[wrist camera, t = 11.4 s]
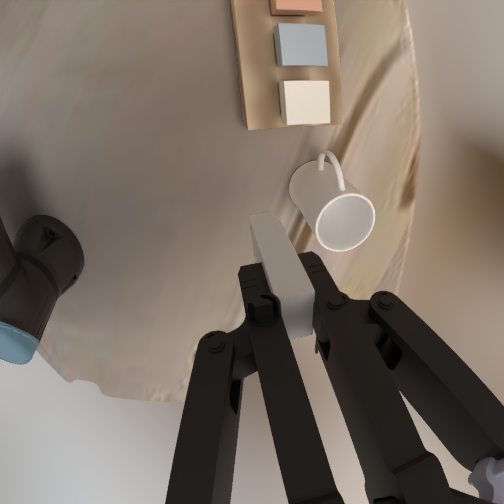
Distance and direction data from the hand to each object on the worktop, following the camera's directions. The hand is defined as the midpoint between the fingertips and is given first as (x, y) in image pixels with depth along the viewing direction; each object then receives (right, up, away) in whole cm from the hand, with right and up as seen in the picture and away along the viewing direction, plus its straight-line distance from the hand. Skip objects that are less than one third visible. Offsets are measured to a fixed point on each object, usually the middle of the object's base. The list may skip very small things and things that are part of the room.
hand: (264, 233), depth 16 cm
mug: (+9, +11, +25) cm, 28 cm away
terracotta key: (+3, +29, +7) cm, 30 cm away
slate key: (+4, +24, +11) cm, 26 cm away
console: (+3, +25, +13) cm, 29 cm away
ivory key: (+4, +18, +15) cm, 24 cm away
